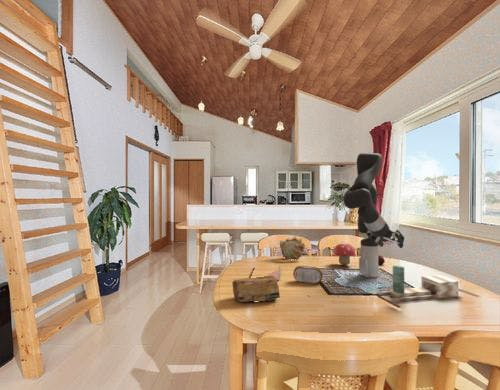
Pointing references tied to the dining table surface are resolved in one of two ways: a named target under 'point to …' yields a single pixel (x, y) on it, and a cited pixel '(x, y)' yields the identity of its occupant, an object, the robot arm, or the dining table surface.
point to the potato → (380, 260)
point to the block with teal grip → (399, 285)
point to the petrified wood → (256, 289)
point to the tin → (308, 274)
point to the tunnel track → (436, 284)
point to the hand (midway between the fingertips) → (391, 245)
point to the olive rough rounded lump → (292, 248)
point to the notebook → (275, 274)
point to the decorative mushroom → (344, 253)
